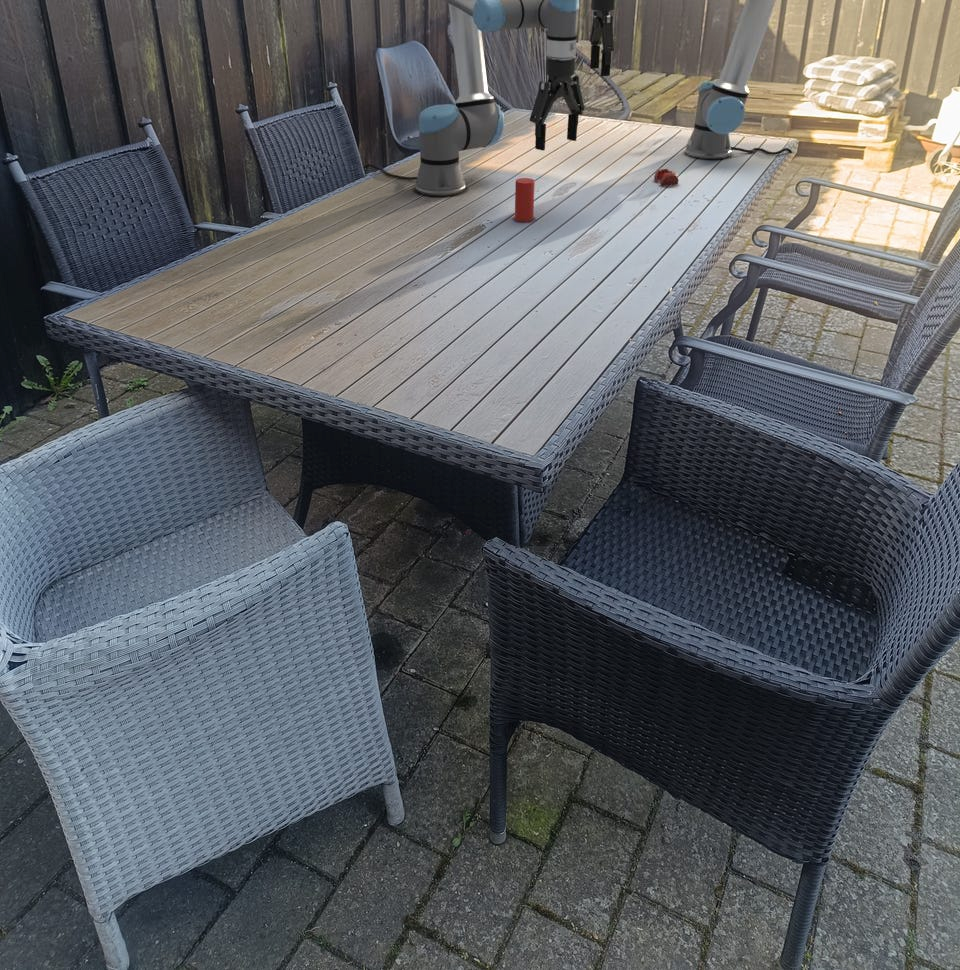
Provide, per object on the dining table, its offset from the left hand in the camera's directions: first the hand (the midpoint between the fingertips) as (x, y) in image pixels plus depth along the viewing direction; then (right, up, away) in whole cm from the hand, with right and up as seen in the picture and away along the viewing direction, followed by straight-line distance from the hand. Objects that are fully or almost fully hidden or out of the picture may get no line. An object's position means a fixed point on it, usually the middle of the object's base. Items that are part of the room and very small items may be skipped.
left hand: (556, 144), depth 227 cm
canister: (-8, -17, +9) cm, 21 cm away
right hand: (+17, +39, +39) cm, 58 cm away
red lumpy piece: (+38, +3, +36) cm, 52 cm away
